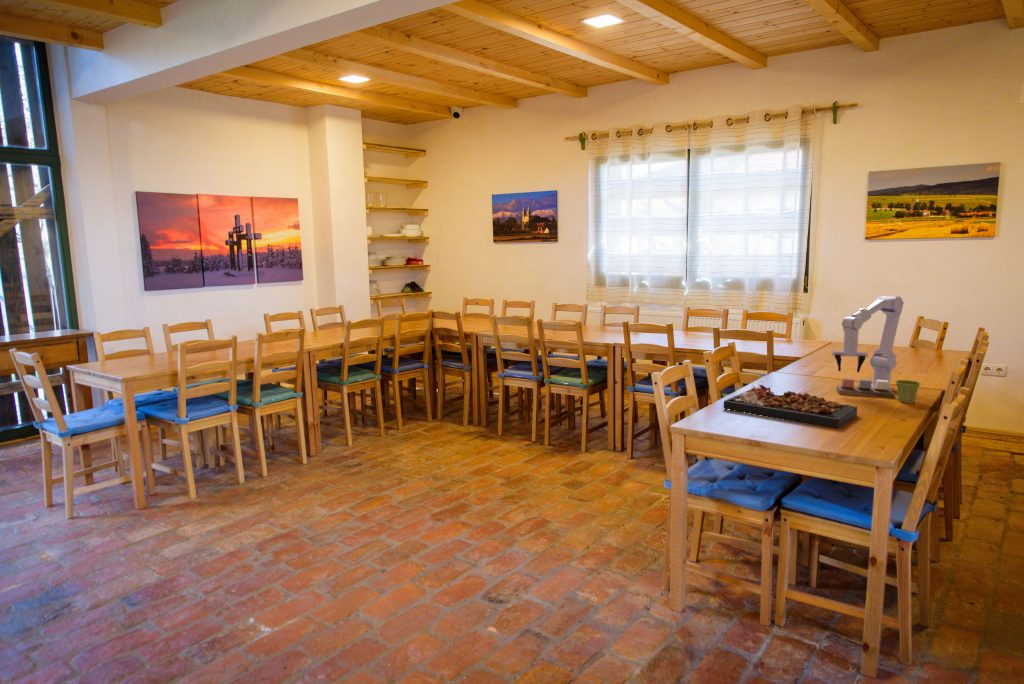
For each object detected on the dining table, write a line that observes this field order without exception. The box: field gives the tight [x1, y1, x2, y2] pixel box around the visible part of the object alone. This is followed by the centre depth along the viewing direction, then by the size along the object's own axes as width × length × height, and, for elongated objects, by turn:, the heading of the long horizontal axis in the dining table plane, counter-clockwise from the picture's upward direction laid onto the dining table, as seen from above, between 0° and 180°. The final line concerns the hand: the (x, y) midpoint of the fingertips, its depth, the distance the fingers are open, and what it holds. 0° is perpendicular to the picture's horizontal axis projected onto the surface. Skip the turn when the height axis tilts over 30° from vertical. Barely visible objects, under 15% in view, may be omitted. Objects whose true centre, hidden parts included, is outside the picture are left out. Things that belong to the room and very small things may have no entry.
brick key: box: [841, 377, 855, 387], centre depth 296 cm, size 5×5×4 cm
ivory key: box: [876, 379, 889, 390], centre depth 290 cm, size 5×5×4 cm
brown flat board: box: [836, 384, 895, 399], centre depth 294 cm, size 11×22×2 cm, turn 68°
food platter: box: [723, 379, 858, 430], centre depth 262 cm, size 45×25×10 cm, turn 48°
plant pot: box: [895, 379, 922, 404], centre depth 277 cm, size 9×9×9 cm
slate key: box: [858, 378, 873, 389], centre depth 293 cm, size 5×5×4 cm
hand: (848, 371), depth 295 cm, fingers open, 7 cm apart
